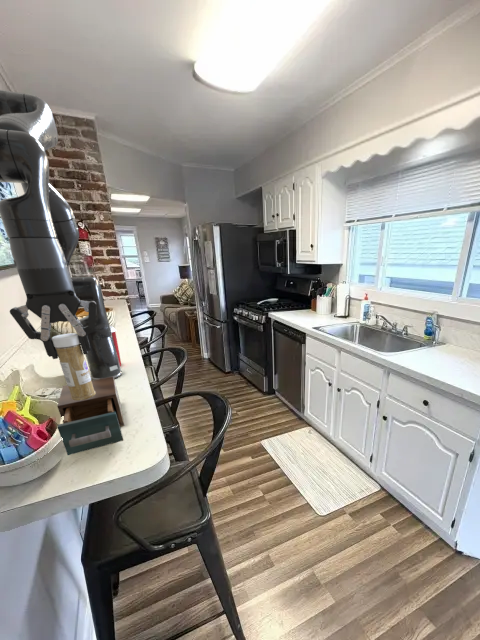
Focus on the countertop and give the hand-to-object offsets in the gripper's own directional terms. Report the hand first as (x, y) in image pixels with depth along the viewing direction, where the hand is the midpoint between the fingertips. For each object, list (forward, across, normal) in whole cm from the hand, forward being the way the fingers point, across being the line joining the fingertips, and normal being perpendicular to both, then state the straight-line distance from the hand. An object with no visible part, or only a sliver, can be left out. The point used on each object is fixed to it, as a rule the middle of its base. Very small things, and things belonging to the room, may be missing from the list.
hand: (70, 355), depth 63 cm
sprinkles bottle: (+10, 0, 0) cm, 10 cm away
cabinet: (+20, 0, -11) cm, 23 cm away
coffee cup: (+21, -5, -57) cm, 61 cm away
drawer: (+19, 0, +1) cm, 19 cm away
